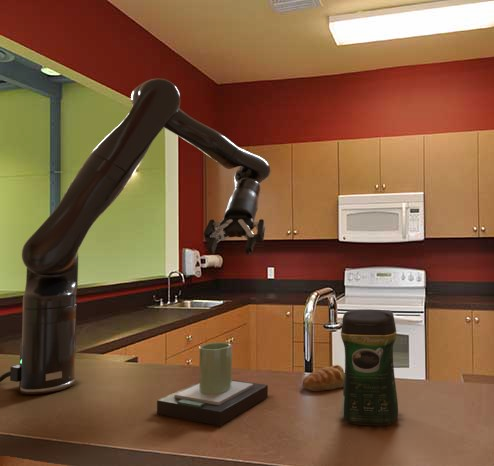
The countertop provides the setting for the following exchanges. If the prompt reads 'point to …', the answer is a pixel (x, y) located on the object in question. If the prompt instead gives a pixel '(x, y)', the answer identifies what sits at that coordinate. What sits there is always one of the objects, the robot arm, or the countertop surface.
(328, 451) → the countertop surface
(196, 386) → the scale
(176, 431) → the countertop surface
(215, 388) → the cup
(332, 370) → the pastry
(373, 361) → the coffee jar
